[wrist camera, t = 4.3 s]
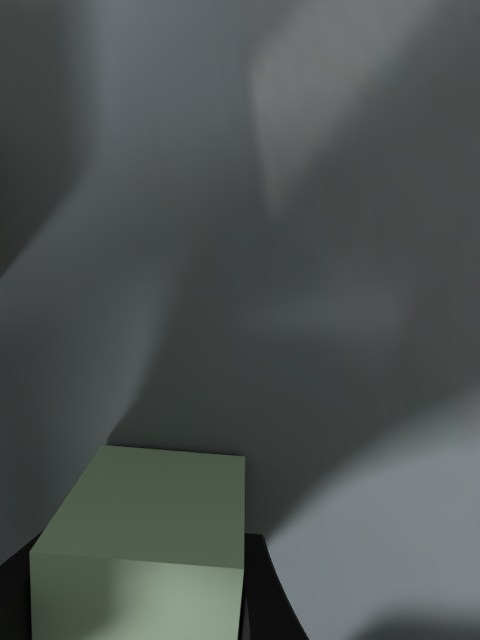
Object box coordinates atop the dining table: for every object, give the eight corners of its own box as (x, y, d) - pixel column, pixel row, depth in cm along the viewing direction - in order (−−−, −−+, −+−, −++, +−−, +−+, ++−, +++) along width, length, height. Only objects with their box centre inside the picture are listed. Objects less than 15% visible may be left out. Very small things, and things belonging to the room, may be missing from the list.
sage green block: (100, 567, 14) (34, 719, 10) (101, 445, 13) (29, 552, 9) (234, 578, 14) (228, 734, 10) (245, 456, 13) (243, 569, 9)
